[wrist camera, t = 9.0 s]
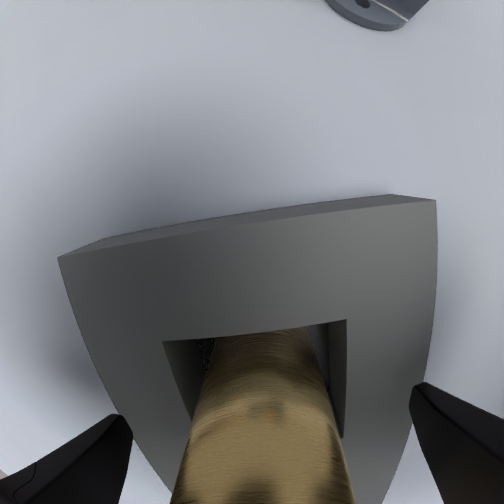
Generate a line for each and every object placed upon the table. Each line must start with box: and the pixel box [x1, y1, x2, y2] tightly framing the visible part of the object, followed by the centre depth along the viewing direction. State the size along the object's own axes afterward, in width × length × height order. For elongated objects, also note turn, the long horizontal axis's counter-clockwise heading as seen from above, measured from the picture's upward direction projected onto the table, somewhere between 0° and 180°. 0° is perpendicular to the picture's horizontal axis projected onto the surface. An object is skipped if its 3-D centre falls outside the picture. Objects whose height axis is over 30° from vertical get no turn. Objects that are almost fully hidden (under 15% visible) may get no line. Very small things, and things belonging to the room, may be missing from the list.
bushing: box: [170, 326, 356, 504], centre depth 7 cm, size 4×4×8 cm
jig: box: [58, 194, 438, 504], centre depth 11 cm, size 11×22×3 cm, turn 9°
